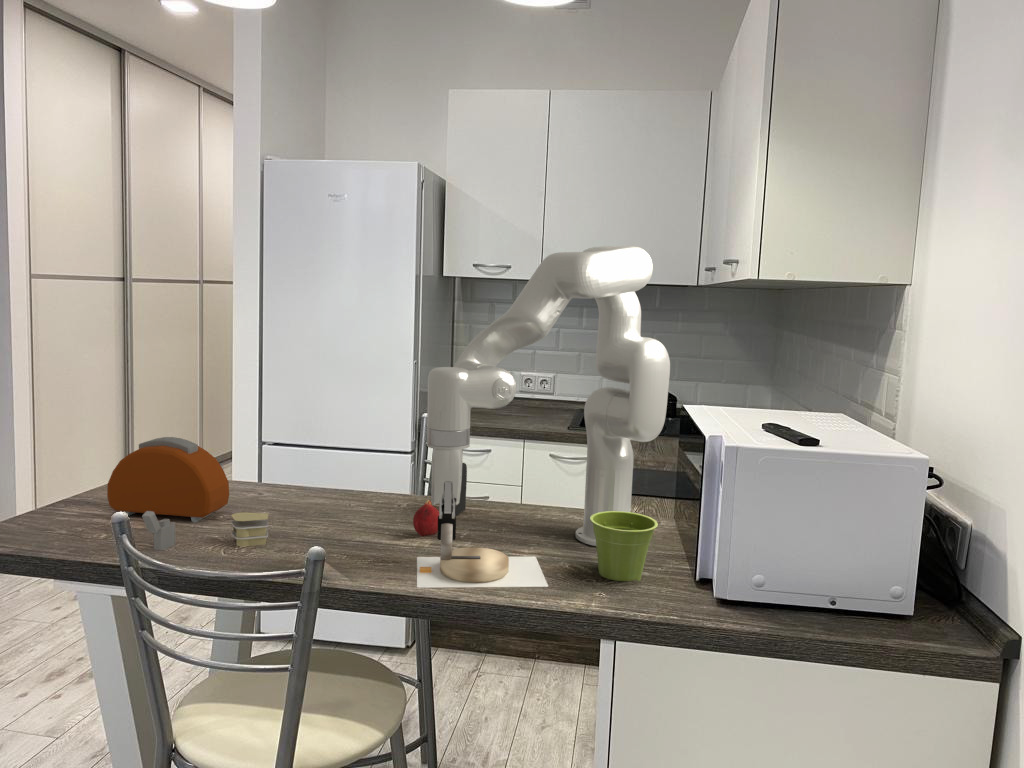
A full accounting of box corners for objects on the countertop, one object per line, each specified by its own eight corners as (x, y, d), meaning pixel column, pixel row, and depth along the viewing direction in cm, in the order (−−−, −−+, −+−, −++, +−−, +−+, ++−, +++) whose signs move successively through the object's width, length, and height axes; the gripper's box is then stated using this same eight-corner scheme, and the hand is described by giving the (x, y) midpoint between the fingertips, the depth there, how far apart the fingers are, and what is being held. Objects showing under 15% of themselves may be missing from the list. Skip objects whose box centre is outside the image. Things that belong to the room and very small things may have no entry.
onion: (436, 544, 159) (437, 505, 158) (408, 542, 160) (409, 503, 159) (444, 536, 164) (445, 498, 163) (417, 533, 165) (418, 495, 164)
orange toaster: (230, 513, 175) (230, 437, 173) (209, 524, 166) (208, 445, 164) (132, 505, 178) (130, 431, 176) (106, 516, 169) (104, 438, 167)
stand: (535, 564, 150) (535, 553, 149) (548, 595, 135) (548, 583, 134) (416, 564, 147) (417, 553, 147) (416, 596, 132) (416, 584, 132)
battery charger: (451, 507, 185) (452, 459, 184) (466, 509, 184) (467, 461, 183) (438, 515, 179) (440, 465, 177) (454, 517, 177) (455, 467, 176)
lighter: (168, 543, 154) (167, 502, 153) (176, 544, 153) (175, 503, 152) (142, 554, 147) (141, 512, 146) (150, 555, 146) (149, 513, 146)
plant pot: (608, 597, 135) (611, 533, 133) (575, 573, 145) (578, 513, 144) (667, 589, 139) (671, 526, 138) (631, 567, 150) (634, 508, 149)
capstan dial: (505, 557, 147) (506, 515, 146) (511, 581, 135) (513, 536, 134) (439, 557, 146) (440, 515, 145) (440, 581, 134) (441, 535, 133)
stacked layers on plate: (276, 535, 162) (276, 509, 161) (275, 550, 153) (275, 522, 152) (224, 537, 159) (224, 511, 158) (220, 552, 150) (220, 524, 150)
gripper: (427, 429, 147) (425, 526, 150) (426, 446, 133) (424, 552, 135) (467, 430, 148) (465, 526, 151) (471, 446, 134) (469, 552, 136)
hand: (446, 538), depth 143 cm, fingers closed
